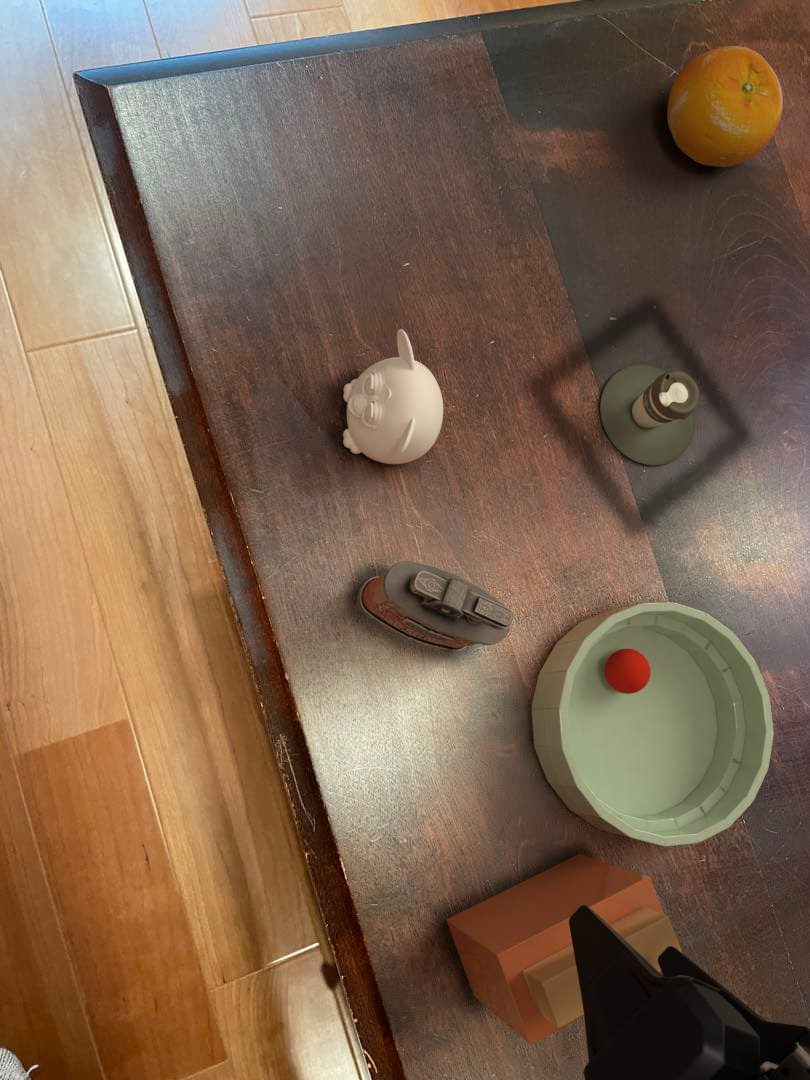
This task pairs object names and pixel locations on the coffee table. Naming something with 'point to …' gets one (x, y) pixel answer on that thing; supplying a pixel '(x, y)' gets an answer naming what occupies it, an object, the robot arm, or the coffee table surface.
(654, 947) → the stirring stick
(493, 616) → the lighter
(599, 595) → the coffee table surface
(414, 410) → the figurine
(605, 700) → the bowl
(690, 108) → the fruit
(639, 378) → the coffee cup
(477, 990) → the rectangular block
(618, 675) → the tomato ball
